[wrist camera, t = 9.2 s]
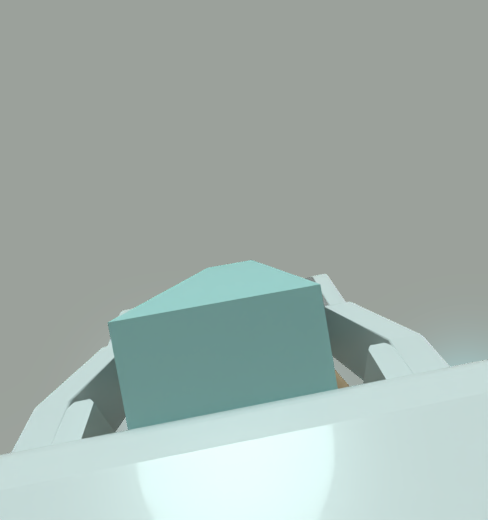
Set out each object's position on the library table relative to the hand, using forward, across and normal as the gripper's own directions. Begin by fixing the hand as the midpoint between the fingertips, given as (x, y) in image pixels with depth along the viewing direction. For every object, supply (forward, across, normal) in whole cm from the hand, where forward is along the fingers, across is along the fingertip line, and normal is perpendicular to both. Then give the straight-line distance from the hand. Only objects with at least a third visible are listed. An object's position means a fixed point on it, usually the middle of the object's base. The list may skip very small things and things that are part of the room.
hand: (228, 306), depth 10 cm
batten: (+4, 0, +4) cm, 6 cm away
